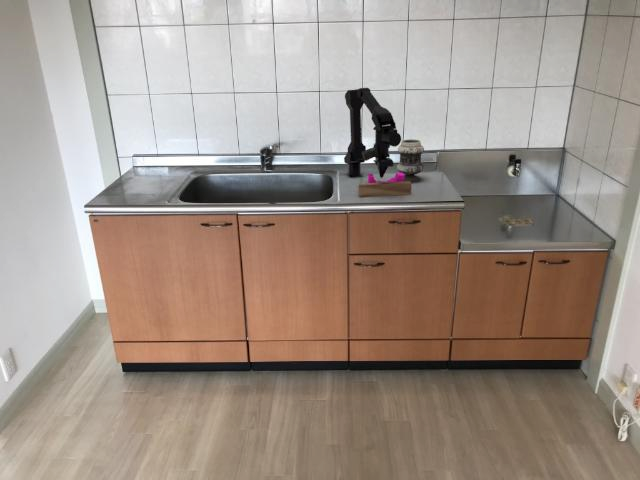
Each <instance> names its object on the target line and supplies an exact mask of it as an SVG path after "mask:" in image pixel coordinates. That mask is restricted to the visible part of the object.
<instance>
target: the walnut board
mask: <svg viewBox="0 0 640 480" xmlns="http://www.w3.org/2000/svg"><path fill="white" fill-rule="evenodd" d="M357 193H358V197H359V198H367V197H369V198H370V197H371V198H372V197H385V196H387V197H388V196H401V195H402V196H404V195H405V196H406V195H412V182H410V181H400V182H383V181H382V182H380V183H368V182H367V183H366V182H363V183H358V191H357Z"/></svg>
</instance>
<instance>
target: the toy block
mask: <svg viewBox="0 0 640 480" xmlns="http://www.w3.org/2000/svg"><path fill="white" fill-rule="evenodd" d="M404 175H405V174H403V173H400V172H396V173H395V176H394V177H391V178H390V179H388V180H384V181H380V180H376V179H375V176H374V174H373V173H368V174H367V183H380V182H400V181H404Z"/></svg>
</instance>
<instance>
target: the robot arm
mask: <svg viewBox="0 0 640 480" xmlns="http://www.w3.org/2000/svg"><path fill="white" fill-rule="evenodd" d="M344 100H345V105H346V107H347V108H348V109H349V120H350V122H349V124H350V125H349V127H350V129H349V130H350V143H349V145H348V146H347V153H346V154H345V155H344V157H343V161H344V164H347V165H348V172H346V174H347V176H348V177H349V178H357V177H358V178H360V177H363V174H362V172H361V170H362V169H361V166H362V165H361V163H362V164H363V163H366V161H369V160H370V159H373V158H374V159H373V160H372V161H373V162H374V164H375V165H376V166H377V169H378V174H379V178H381V179H383V177H384V176H385V173H386V172H387V170H388V168H389V167H391V168H392V167H394V161H393V159H392V158H391V157H390V151H389V150H390V149H389V148H391V147H399V146H400V145H401V142H402V135H401V134H400V133H399V132H398V129H397V126H396V125H397V124H396V122H395V120H394V116H393V114H392V112H391V111H389V109H387V108H385V107H383V106H381V104H380V103H379V102H378V100H377V98H375V96H374V95H373V93H372V92H371V89H370V88H369V87H359V88H357V89H347V91H346V92H345V94H344ZM363 106H365V107H366V108H367V110H368V111H369V112H370V113H371V120H372V123H373V125H374V127H373V130H374V131H375V137H374V139H375V140H374V141H375V142H374V143H373V146H372V147H370V148H367V146H366V145H365V144H364V143H363V141H362V119H361V118H362V117H361V111H362V108H363Z"/></svg>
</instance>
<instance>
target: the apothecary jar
mask: <svg viewBox="0 0 640 480" xmlns="http://www.w3.org/2000/svg"><path fill="white" fill-rule="evenodd" d="M397 152H398V154H399V155H400V156H399V163H397V165H396V170H397V171H398V173H403V174H404V181H410V182H411V183H417V182H420V181H421V177H419V176H418V175H417V174H419V173H421V172H423V170H424V164H422V154H423V153H424V152H425V147H424V146H423V145H422V142H421V140H419V139H412V138H409V139H408V138H407V139H401V142H400V144H399V145H398V146H397Z"/></svg>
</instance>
